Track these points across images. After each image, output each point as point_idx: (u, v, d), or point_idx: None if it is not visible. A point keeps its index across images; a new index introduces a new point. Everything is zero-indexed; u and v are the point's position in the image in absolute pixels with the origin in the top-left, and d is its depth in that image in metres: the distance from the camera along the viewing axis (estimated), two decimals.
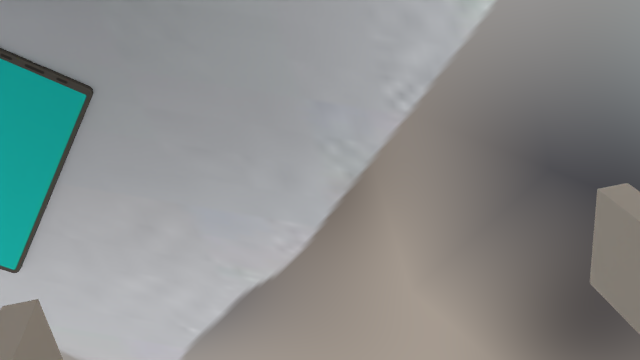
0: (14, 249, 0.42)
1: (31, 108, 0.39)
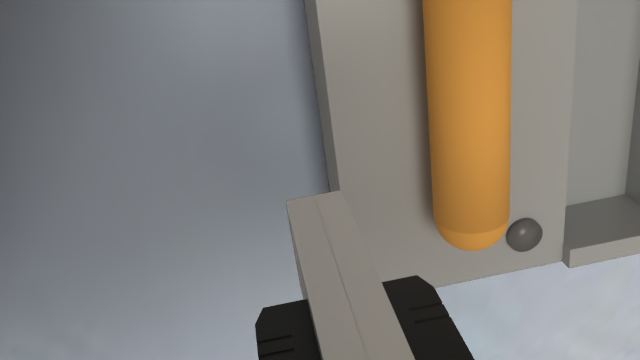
0: None
1: None
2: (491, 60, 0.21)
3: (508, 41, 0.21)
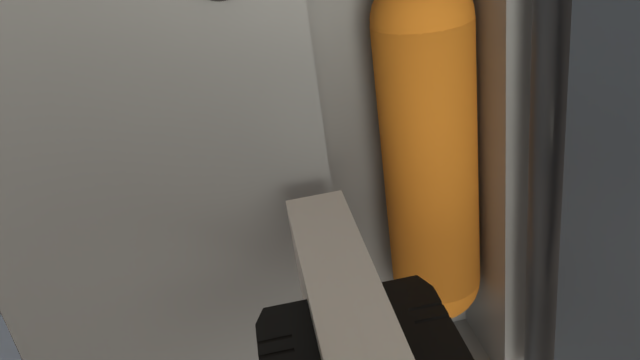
0: None
1: None
2: (444, 110, 0.17)
3: (469, 87, 0.17)
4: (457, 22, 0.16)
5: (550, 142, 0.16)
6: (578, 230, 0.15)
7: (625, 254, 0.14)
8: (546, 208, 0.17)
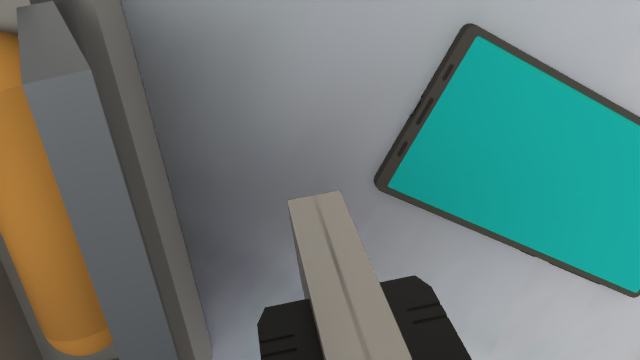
0: None
1: (485, 122, 0.24)
2: None
3: (14, 151, 0.18)
4: None
5: None
6: None
7: None
8: None
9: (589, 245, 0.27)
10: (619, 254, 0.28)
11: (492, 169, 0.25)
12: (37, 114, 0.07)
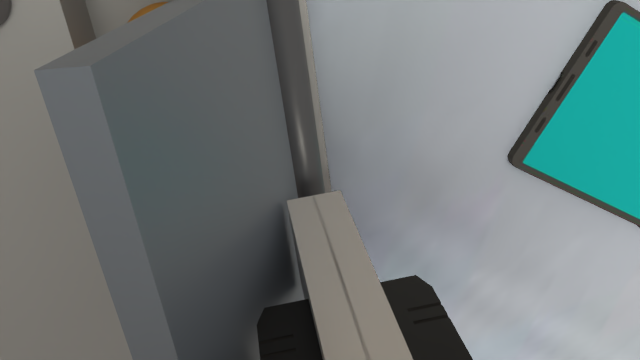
0: None
1: (621, 99, 0.24)
2: None
3: None
4: None
5: None
6: None
7: None
8: None
9: None
10: None
11: (623, 146, 0.25)
12: (47, 98, 0.08)
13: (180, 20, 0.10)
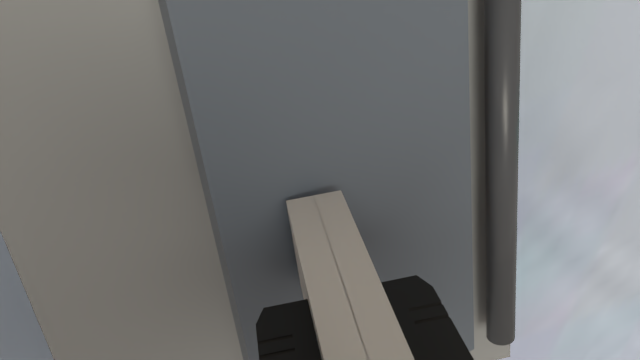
0: None
1: None
2: None
3: None
4: None
5: None
6: None
7: None
8: (485, 172, 0.20)
9: None
10: None
11: None
12: (159, 5, 0.14)
13: None
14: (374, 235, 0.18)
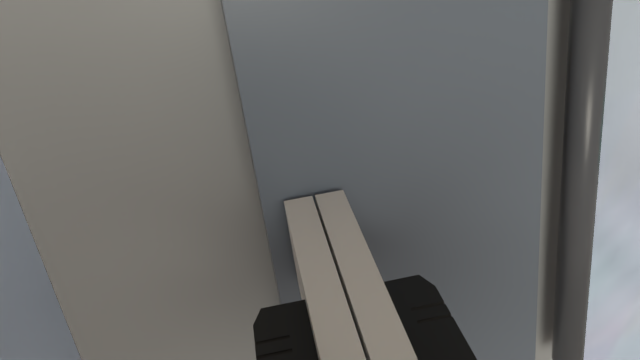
0: None
1: None
2: None
3: None
4: None
5: (564, 121, 0.17)
6: None
7: None
8: (561, 183, 0.18)
9: None
10: None
11: None
12: None
13: None
14: (426, 234, 0.17)
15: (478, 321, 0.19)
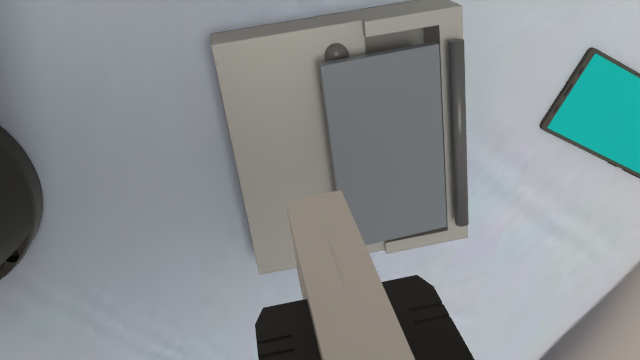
0: None
1: (596, 95, 0.49)
2: None
3: None
4: None
5: None
6: None
7: None
8: None
9: None
10: None
11: (598, 119, 0.50)
12: (319, 69, 0.40)
13: (364, 59, 0.39)
14: (395, 162, 0.43)
15: (419, 202, 0.45)
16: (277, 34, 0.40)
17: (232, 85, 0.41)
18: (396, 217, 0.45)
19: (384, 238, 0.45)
